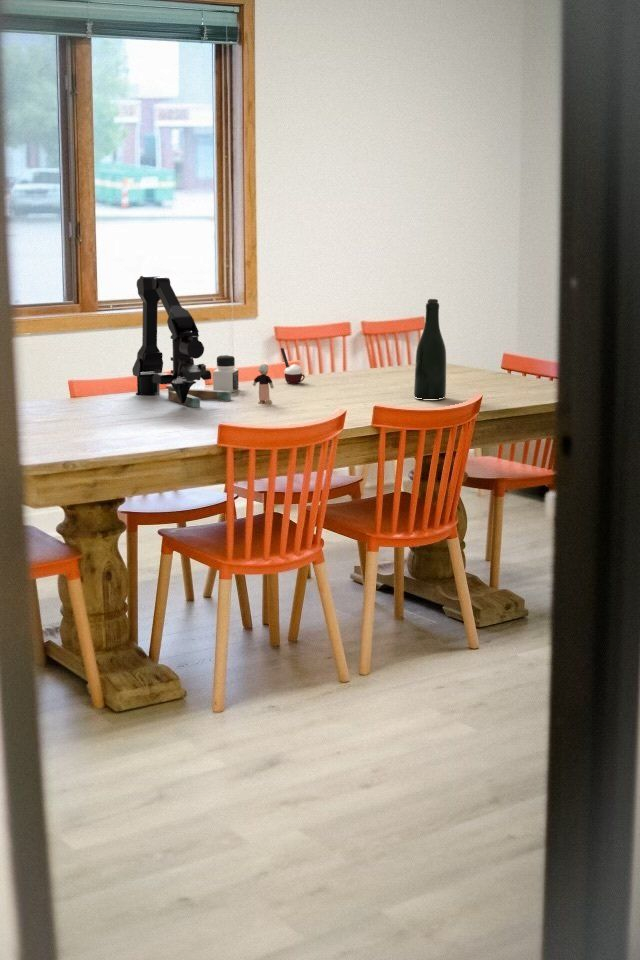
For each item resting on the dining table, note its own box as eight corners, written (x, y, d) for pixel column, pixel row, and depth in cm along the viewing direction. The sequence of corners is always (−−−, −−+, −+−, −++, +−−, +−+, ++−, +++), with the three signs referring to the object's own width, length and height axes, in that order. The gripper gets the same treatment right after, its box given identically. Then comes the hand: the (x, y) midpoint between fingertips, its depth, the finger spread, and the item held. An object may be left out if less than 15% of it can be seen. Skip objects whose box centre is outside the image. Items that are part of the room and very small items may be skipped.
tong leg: (169, 399, 401) (169, 391, 400) (175, 398, 402) (175, 390, 401) (193, 407, 387) (193, 398, 387) (200, 406, 389) (199, 397, 388)
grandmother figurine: (276, 402, 397) (276, 363, 394) (272, 404, 394) (272, 365, 391) (254, 401, 400) (254, 362, 397) (250, 403, 396) (250, 364, 393)
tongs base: (163, 398, 403) (163, 386, 402) (170, 395, 408) (169, 384, 407) (225, 402, 397) (225, 390, 396) (231, 399, 402) (230, 387, 401)
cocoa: (306, 385, 434) (309, 351, 431) (292, 386, 430) (294, 352, 428) (291, 380, 441) (293, 347, 438) (277, 381, 438) (279, 348, 435)
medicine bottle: (233, 392, 415) (232, 357, 412) (213, 391, 416) (212, 356, 414) (238, 389, 422) (238, 354, 419) (218, 388, 423) (218, 354, 420)
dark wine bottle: (451, 398, 407) (455, 299, 399) (432, 402, 399) (435, 301, 392) (427, 394, 414) (430, 296, 406) (407, 398, 406) (410, 298, 398)
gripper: (169, 360, 374) (170, 410, 377) (220, 355, 385) (221, 404, 389) (151, 355, 382) (152, 405, 386) (201, 351, 393) (202, 398, 397)
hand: (182, 403), depth 389 cm, fingers closed
